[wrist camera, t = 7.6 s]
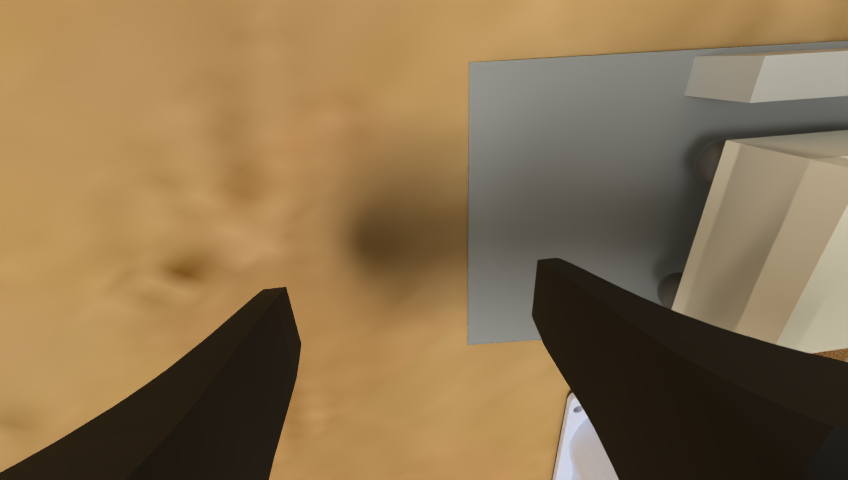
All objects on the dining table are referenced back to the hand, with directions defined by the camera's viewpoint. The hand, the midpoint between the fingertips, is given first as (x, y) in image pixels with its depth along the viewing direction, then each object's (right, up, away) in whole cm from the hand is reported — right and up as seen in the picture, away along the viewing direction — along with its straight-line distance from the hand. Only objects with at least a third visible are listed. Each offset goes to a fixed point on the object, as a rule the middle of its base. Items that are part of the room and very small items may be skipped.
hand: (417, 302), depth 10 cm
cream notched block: (+13, +3, +4) cm, 14 cm away
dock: (+11, +3, +5) cm, 13 cm away
